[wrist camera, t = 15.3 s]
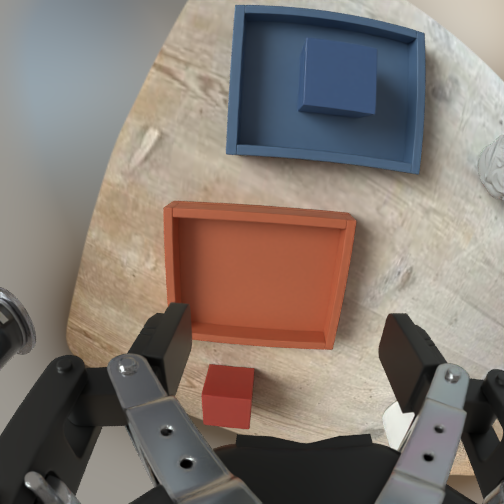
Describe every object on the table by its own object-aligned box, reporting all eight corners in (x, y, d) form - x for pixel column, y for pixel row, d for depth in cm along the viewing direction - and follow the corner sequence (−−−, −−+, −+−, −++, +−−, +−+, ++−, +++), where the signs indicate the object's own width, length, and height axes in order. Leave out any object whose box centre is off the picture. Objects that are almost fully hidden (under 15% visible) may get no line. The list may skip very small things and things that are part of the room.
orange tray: (177, 322, 32) (170, 337, 30) (173, 200, 28) (163, 207, 25) (328, 333, 32) (332, 350, 29) (349, 212, 27) (356, 220, 25)
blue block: (297, 111, 24) (303, 105, 19) (300, 54, 22) (306, 36, 17) (357, 118, 24) (375, 114, 19) (359, 62, 22) (377, 48, 17)
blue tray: (230, 152, 26) (225, 154, 24) (238, 16, 22) (235, 4, 19) (406, 171, 26) (419, 174, 23) (412, 40, 21) (424, 32, 19)
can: (381, 402, 35) (404, 477, 24) (427, 388, 34) (459, 457, 23) (381, 430, 37) (399, 498, 26) (423, 417, 36) (448, 481, 25)
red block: (210, 394, 36) (203, 424, 31) (209, 363, 34) (201, 394, 29) (252, 398, 35) (249, 429, 31) (254, 368, 34) (251, 399, 29)
